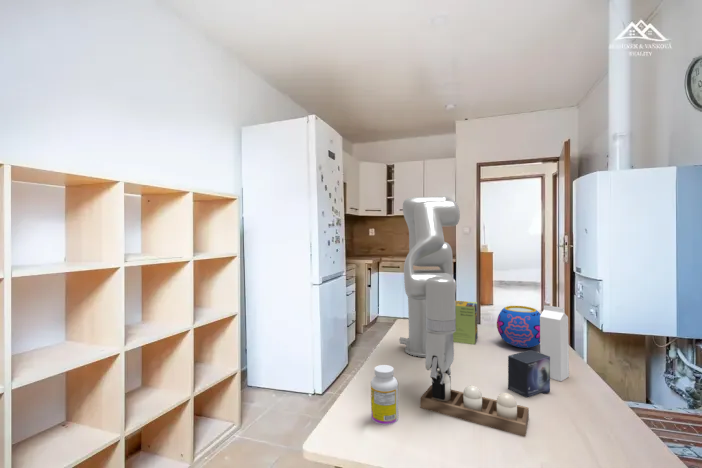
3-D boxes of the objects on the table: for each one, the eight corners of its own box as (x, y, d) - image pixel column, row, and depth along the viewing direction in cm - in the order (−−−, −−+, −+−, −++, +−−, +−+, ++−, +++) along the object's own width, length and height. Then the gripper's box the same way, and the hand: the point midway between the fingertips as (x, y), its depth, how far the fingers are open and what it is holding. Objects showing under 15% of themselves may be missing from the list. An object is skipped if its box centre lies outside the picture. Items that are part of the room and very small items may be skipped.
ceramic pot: (547, 343, 138) (546, 306, 138) (544, 356, 123) (544, 315, 123) (500, 336, 147) (500, 302, 147) (493, 348, 132) (493, 310, 132)
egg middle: (461, 414, 84) (461, 387, 84) (465, 406, 87) (465, 380, 87) (480, 419, 81) (479, 391, 81) (483, 411, 85) (483, 384, 85)
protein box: (475, 344, 137) (475, 306, 137) (437, 340, 144) (437, 303, 144) (478, 337, 147) (477, 301, 147) (442, 333, 153) (441, 299, 153)
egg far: (495, 423, 79) (495, 395, 79) (498, 414, 83) (498, 387, 83) (516, 428, 77) (515, 399, 77) (518, 419, 81) (517, 392, 81)
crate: (420, 410, 87) (420, 397, 87) (431, 396, 94) (431, 384, 94) (525, 439, 74) (525, 425, 74) (528, 421, 81) (528, 407, 81)
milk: (561, 382, 102) (560, 309, 102) (540, 375, 107) (539, 306, 107) (569, 376, 106) (568, 306, 106) (548, 370, 111) (547, 303, 111)
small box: (527, 401, 91) (527, 362, 91) (506, 391, 97) (506, 355, 97) (551, 392, 96) (551, 355, 96) (530, 383, 101) (529, 349, 101)
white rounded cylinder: (431, 398, 88) (430, 373, 88) (436, 391, 91) (436, 367, 91) (447, 402, 85) (447, 376, 85) (452, 395, 89) (452, 370, 89)
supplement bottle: (378, 410, 87) (377, 361, 87) (402, 417, 84) (401, 366, 84) (366, 423, 81) (365, 370, 81) (391, 431, 78) (391, 376, 78)
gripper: (436, 315, 97) (437, 378, 97) (415, 330, 83) (416, 404, 83) (463, 319, 93) (464, 384, 93) (445, 335, 79) (446, 412, 79)
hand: (441, 393), depth 88 cm, fingers closed on white rounded cylinder, 4 cm apart
